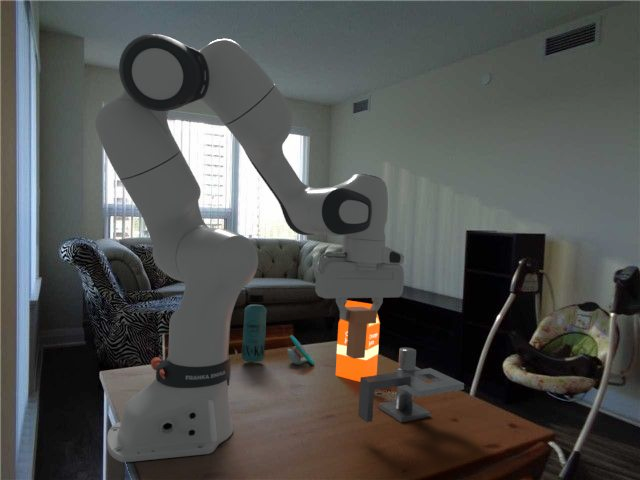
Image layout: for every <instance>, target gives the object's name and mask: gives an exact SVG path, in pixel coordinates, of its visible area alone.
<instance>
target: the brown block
mask: <svg viewBox="0 0 640 480" xmlns="http://www.w3.org/2000/svg"><path fill="white" fill-rule="evenodd" d="M346 309H347V310H348V311H350V319H349V320H345V321H347V322H349V324H348V337H347V351H346V355H347V356H349V357H351V358H353V359H355V358H365V345H366V332H367V324H373V323H376V316H377V314H378V311H374V310H371V309H368V308H365V307H346Z"/></svg>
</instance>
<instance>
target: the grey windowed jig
mask: <svg viewBox="0 0 640 480" xmlns="http://www.w3.org/2000/svg"><path fill="white" fill-rule="evenodd" d="M398 352H399V354H398V367H396V368H395V369H396V370H395V371H396V372H388V373H382V374H377V375H374V376H367V377H361V378H360V382H359V394H358V395H359V396H358V397H359V398H358V417H359V418H360V419H362V420H363V421H364V422H366V423H371V422H373V417H374V415H373V413H374V400H375V399H374V398H375V395H374V392H375V391H376V390H383V389H384V390H385V389H389V388H390V389H391V388H396V387H397V388H396V392H397V399H396V400H395V401H385V402H380V403H378V408H379V409H380V410H381V411H383V412H385V413H386V415H387V414H388V415H389V417H392V418H394V419H395V420H396V421H398V422H399V423H406V422H410V421H415V420H420V419H425V418H429V417H431V411H429V410H428V409H426V408H424V407H423V406H420V405H419V404H417V403H416V402H414V396H415V397H416V398H424V397H429V396H434V395H440V394H443V393H444V394H445V393H451V392H457V391H461V390H465V383H464V382H462V381H460V380H458V379H455V378H453V377H451V376H449V375H446V374H444V373H442V372H440V371H438V370H436V369H433V368H432V367H428V368H419V367H418V366H416V361H417V359H416V357H417V349H415V348H412V347H400V348H399V351H398ZM427 380H429V381H431V382H426V381H427Z"/></svg>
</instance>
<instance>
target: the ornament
mask: <svg viewBox="0 0 640 480" xmlns="http://www.w3.org/2000/svg"><path fill="white" fill-rule="evenodd" d="M289 337H290V339H291V342H292V343H293V344H294V346H295V347H294V349H291V348H287V356H288V357H289V359H290V360H291V361H292V363H294V364H295V365H297V366H301V365H302V360H301V358H305V359H306V361H307V362H308V363H309V364H310V365H313V366H315V362H314V359H313V358H312V356H311V355H310V353H308V351H307V350H306V348H305V347H304V345H302V344H301V342H300V341H299V340H298V339H297V338H296V337H295V336H293V335H292V334H291V335H290V336H289Z"/></svg>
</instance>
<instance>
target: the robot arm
mask: <svg viewBox="0 0 640 480" xmlns="http://www.w3.org/2000/svg"><path fill="white" fill-rule="evenodd" d="M118 74H119V79H120V82H121V84H122V87H123V92H122V94H120V96H119V97H117V98H115V99H113V100H111V101H109V102H107V103H106V104H105V105H103V107H101V109H100V110H99V112H98V113H97V115H96V117H95V124H94V126H95V130H96V132H97V133H96V134H97V135H98V138H99V141H100V143H101V146H102V148H103V150H104V153H105V154H106V156H107V159H108V161H109V163H110V164H111V167H112V168H113V170H114V172H115V173H116V175H117V177H118V178H119V180H120V182H121V183H122V185H123V187H124V188H125V190H126V192H127V193H128V196H129V197H130V198H131V200H132V202H133V204H134V205H135V208H137V211H138V212H139V214H140V216H141V218H142V220H143V222H144V224H145V226H146V228H147V232H148V235H149V238H150V241H151V244H152V258H153V262H154V264H155V266H156V267H157V268H158V269H159V270H160V271H162V272H163V273H164V274H165V275H166V276H168V277H170V278H172V280H173V279H174V280H175V281H179V282H182V283H184V291H183V294H182V299H181V301H180V303H179V306H178V308H177V309H175V311H173V313H172V314H171V316H170V318H169V327H168V328H169V329H168V351H167V352H168V354H167V357H166V358H165V359H163V360H162V359H161V358H160V357H157V356H156V357H153V358H152V359H151V361H150V366H151V367H152V368H151V369H153V370H154V371H155V379H154V380H153V381H152V382H151V383H149V384H148V385H146V386H145V387H143V389H141V390H140V391H138V392H137V393H136V394H135V395H133V396H132V397H130V398H129V399H128V401H127V402H126V404H125V406H124V408H123V412H122V416H121V421H119V422H116V423H114V424H113V425H112V426H111V427H110V428H109V430H108V432H107V434H106V449H107V451H108V453H109V455H110V456H111V457H112V458H113V459H115V460H116V461H118V462H121V463H132V462H141V461H150V460H153V461H154V460H159V459H160V460H162V459H168V458H169V459H170V458H171V459H173V458H181V457H191V456H201V455H209V454H211V453H213V452H214V451H215V450H216V449H217V447H218V446H219V445H220V444H222V443H223V442H224V441H226V440H228V439H229V438H230V437H231V436H232V434H233V433H234V429H235V428H234V423H233V419H232V416H231V415H232V413H231V410H230V409H231V407H230V401H229V399H230V398H229V386H230V381H231V371H232V369H231V368H232V367H231V366H232V365H231V357H230V356H229V351H230V350H229V348H230V347H229V345H230V333H231V332H230V331H231V321H232V315H233V312H234V308H235V305H236V302H237V301H238V297H239V296H240V293H241V292H242V290H243V289H244V288H245V287H246V286H247V285H248V284H249V283H250V282H251V281H252V280H253V279H254V277H255V275H256V274H257V270H258V267H259V266H258V265H259V255H258V251H257V248H256V246H255V244H254V243H253V242H252V240H250V239H249V238H248V237H246V236H244V235H242V234H240V233H238V232H235V231H233V230H231V229H227V228H225V229H224V228H215V227H210V226H208V225H207V224H206V222H205V221H204V219H203V216H202V213H201V209H200V203H199V201H200V197H201V191H202V190H201V188H200V187H201V186H200V185H199V183H198V181H197V179H196V177H195V175H194V173H193V171H192V170H191V168H190V166H189V164H188V162H187V160H186V158H185V156H184V155H183V152H182V150H181V149H180V147H179V145H178V144H177V141H176V140H175V137H174V135H173V133H172V132H171V130H170V129H171V128H170V126H169V124H168V113H169V111H170V112H171V111H174V110H176V109H180V108H182V107H184V106H187V105H189V104H192V103H195V102H197V101H199V100H200V101H202V102H203V103H205V104H206V105H207V106H208V107H209V108H210V109H211V110H212V111H213V112H214V113H215V115H216V116H217V117H218V118H219V120H220V121H221V122H222V123H223V124H224V125H225V127H226V128H227V130H228V131H229V132H230V133H231V134H232V135H233V137H234V138H235V139H236V141H237V142H238V143H239V145H240V146H241V147H242V149H243V150H244V153H245V154H246V156H247V158H248V160H249V161H250V163H251V165H252V166H253V167H254V169H255V171H256V172H257V173H258V175H259V177H260V178H261V179H262V181H264V183H265V185H266V186H267V187H268V189H269V190H270V192H271V193H272V194H273V196H274V198H275V199H276V200H277V202H278V205H279V206H280V209H281V211H282V215H283V217H284V220H285V222H286V224H287V226H288V228H290V230H292V231H293V232H294V233H296V234H298V235H301V236H311V235H312V236H313V235H318V236H334V237H339V236H343V238H342V252H341V251H340V252H339V251H337V252H333V251H327V252H325V253H324V254H322V255H321V256H320V257H319V259H318V271H317V275H316V281H315V282H316V283H315V289H314V291H315V293H316V295H317V296H318V297H320V298H323V299H335V303H336V306H337V307H338V309H339V320H340V319H342V320H349V319H350V311H348V310H347V309H346V307H345V304H346V303H347V300H348V299H364V298H365V299H368V298H369V299H370V298H371V302H372V303H371V304H372V306H371V308H370V309H371V310H374V311H377V312H378V311H379V309H380V308H381V306H382V304H383V303H384V301H383V300H384V298H400V297H401V296H402V294H403V293H404V286H405V270H404V268H403V265H402V264H404V261H405V255H404V254H403V253H402V252H398V251H397V250H395V249H392V248H389V247H388V246H386V235H385V228H386V224H387V221H388V210H389V194H388V187H387V184H386V182H385V181H384V180H383V179H382V178H380V177H378V176H376V175H372V174H371V175H370V174H366V173H356V174H353V175H351V177H350V178H349V179H347V180H345V181H344V182H342V183H339V184H336V185H332V186H331V187H316V188H315V187H312V186H308V185H307V184H305V183H304V182H303V181H301V179H300V177H299V176H298V174H297V173H296V171H295V170H294V168H293V166H292V165H291V163H289V161H288V159H287V158H286V156H285V154H284V151H283V144H285V141H286V140H287V139H288V137H289V136H290V132H291V129H292V126H293V113H292V110H291V108H290V106H289V103H288V102H287V100H286V98H285V97H284V95H283V93H282V92H281V91H280V89H279V88H278V87H277V85H276V84H275V83H274V81H273V80H272V79H271V77H270V76H269V75H268V74H267V72H266V71H265V69H263V68H262V66H261V65H260V64H259V63H258V62H257V61H256V60H255V59H254V57H253V56H252V55H251V54H250V53H249V52H247V51H246V50H245V48H243V46H241V45H240V44H239V43H238V42H237V41H234V40H232V39H229V38H222V39H216V40H213V41H211V42H209V43H208V44H206V45H205V46H203V47H202V48H201V49H199V50H198V49H196V48H194V47H191V46H189V45H187V44H184V43H183V42H181V41H179V40H177V39H174V38H172V37H170V36H168V35H165V34H160V33H146V34H142V35H140V36H138V37H136V38H134V39H133V40H132V41H130V42H129V43H128V44H127V45H126V46H125V48H124V49H123V51H122V53H121V56H120V58H119V65H118ZM376 318H377V316H376Z"/></svg>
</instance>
